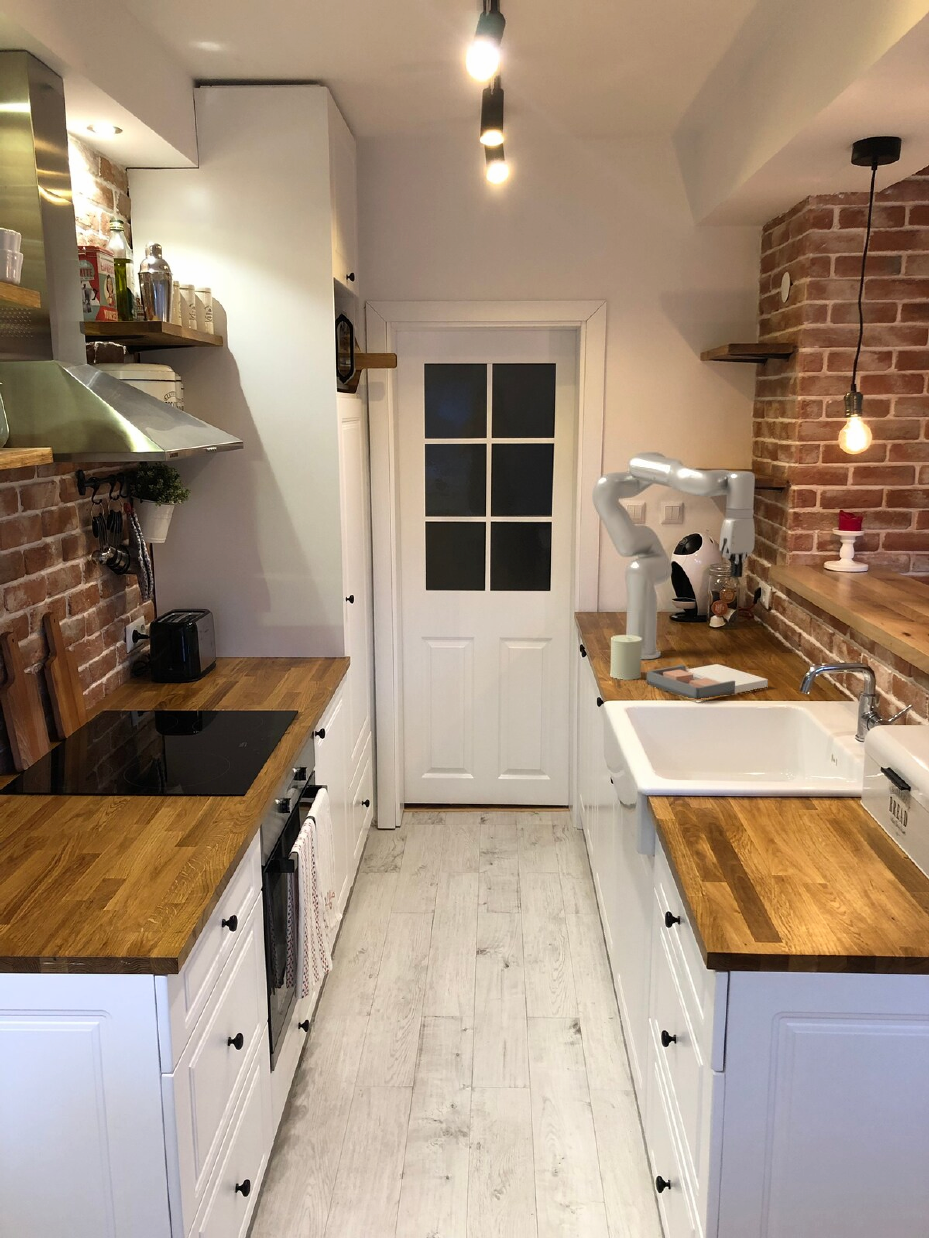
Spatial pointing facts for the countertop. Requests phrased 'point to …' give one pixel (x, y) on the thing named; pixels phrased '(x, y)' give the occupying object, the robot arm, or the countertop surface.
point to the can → (626, 657)
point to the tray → (687, 685)
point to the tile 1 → (679, 675)
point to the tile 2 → (702, 682)
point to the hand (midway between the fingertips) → (736, 576)
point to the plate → (729, 677)
